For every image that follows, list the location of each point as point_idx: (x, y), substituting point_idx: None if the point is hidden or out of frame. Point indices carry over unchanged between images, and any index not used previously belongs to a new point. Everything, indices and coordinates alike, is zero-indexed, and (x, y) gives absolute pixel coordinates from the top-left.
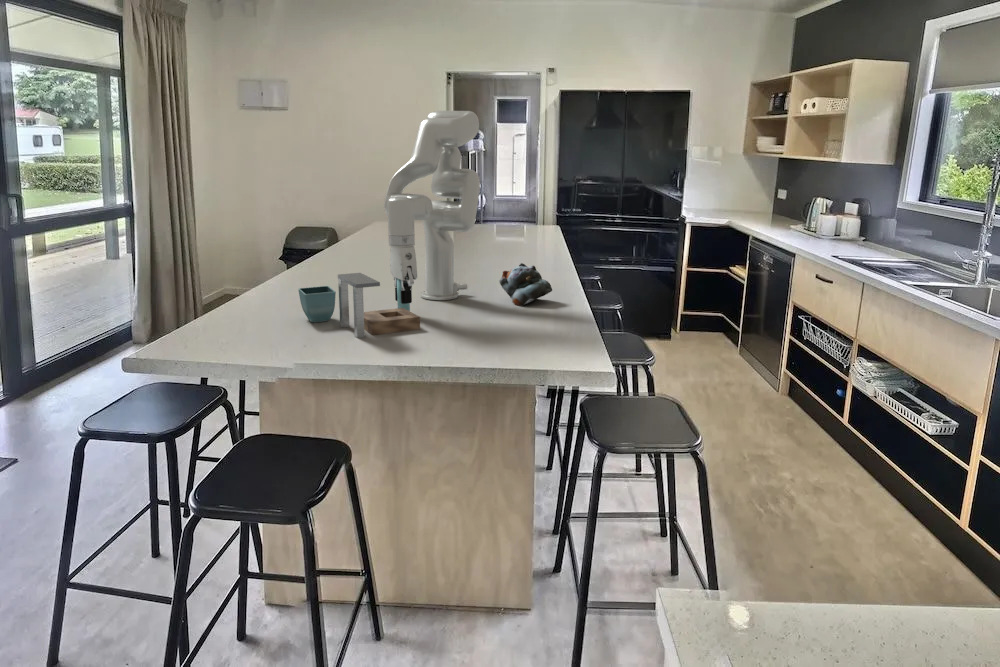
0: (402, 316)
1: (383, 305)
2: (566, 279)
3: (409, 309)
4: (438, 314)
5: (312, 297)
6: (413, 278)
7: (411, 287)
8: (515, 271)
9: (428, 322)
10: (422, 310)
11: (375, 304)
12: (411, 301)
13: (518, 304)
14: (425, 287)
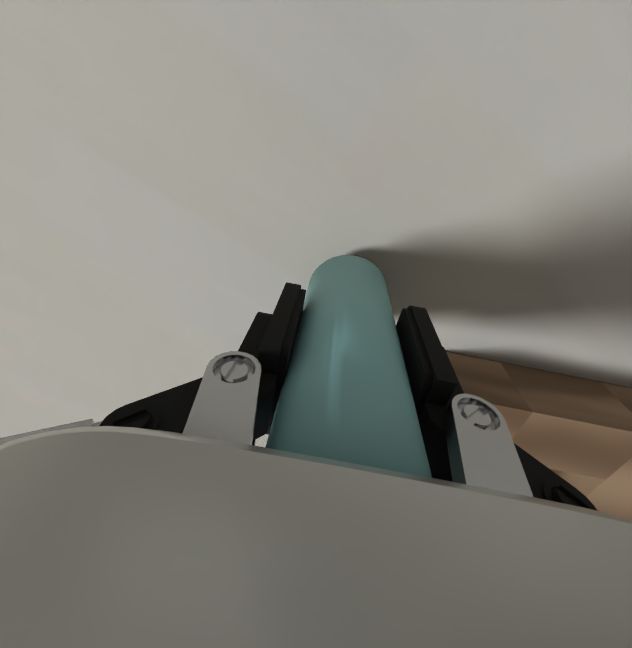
0: (611, 493)
1: (79, 252)
2: None
3: (382, 279)
4: (541, 54)
5: None
6: (532, 498)
7: (504, 432)
8: None
9: (622, 283)
10: (327, 97)
11: (44, 274)
12: (425, 312)
13: None
14: None
